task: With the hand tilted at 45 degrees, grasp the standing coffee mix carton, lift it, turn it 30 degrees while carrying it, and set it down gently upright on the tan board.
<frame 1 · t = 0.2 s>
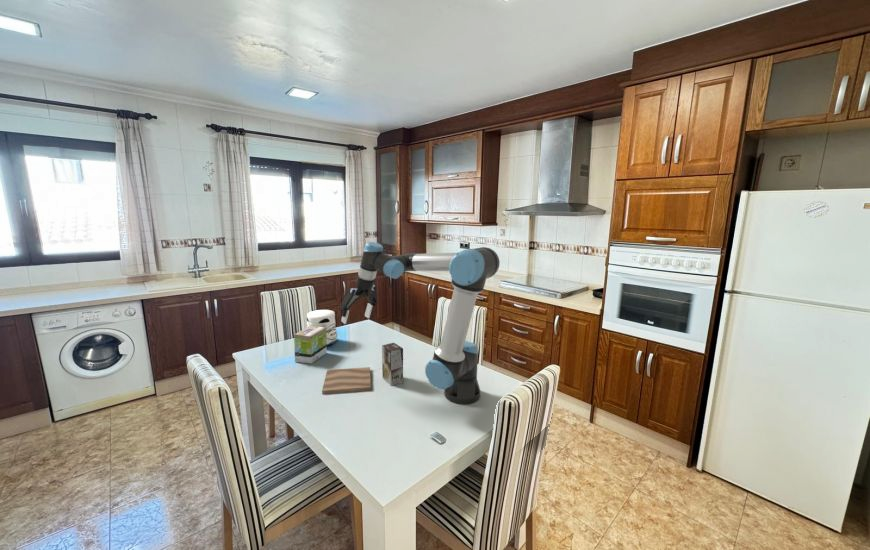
hand: (355, 319, 159), 27 cm above the table, tool tilted 20°, fingers open, 13 cm apart
coffee box: (392, 380, 161), on the table
tea box: (311, 357, 185), on the table
tan board: (347, 381, 159), on the table
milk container: (322, 343, 205), on the table
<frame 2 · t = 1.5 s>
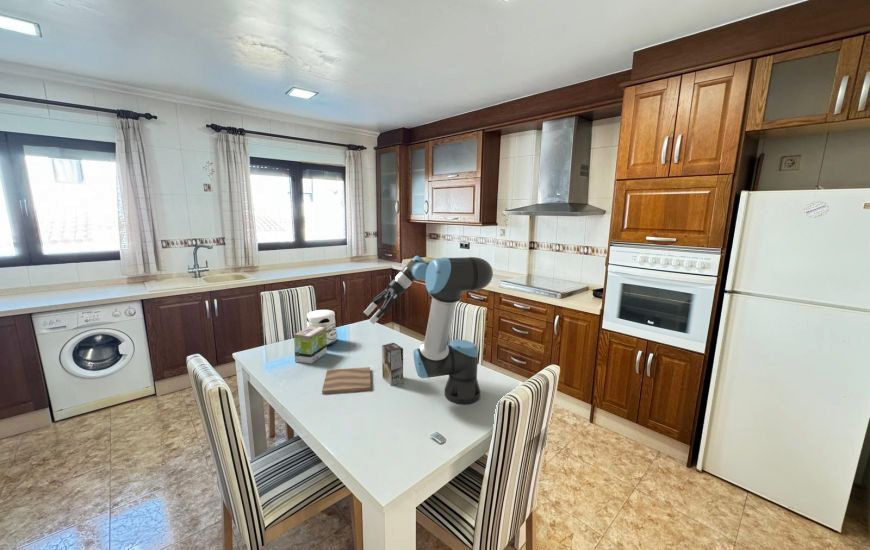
hand: (368, 318, 161), 28 cm above the table, tool tilted 45°, fingers open, 13 cm apart
nothing on the table moved.
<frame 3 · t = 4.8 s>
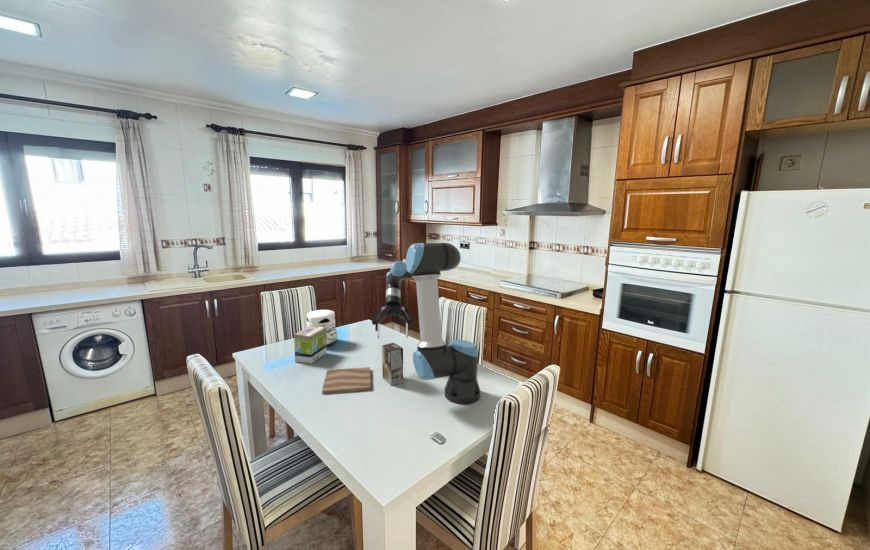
hand: (392, 336, 168), 17 cm above the table, tool tilted 45°, fingers open, 13 cm apart
nothing on the table moved.
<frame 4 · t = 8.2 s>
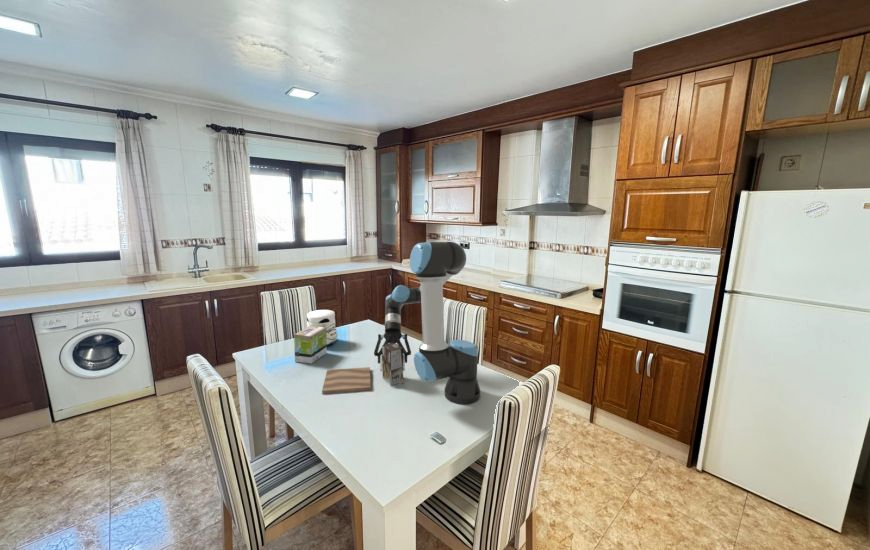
hand: (392, 369, 157), 6 cm above the table, tool tilted 45°, fingers closed on coffee box, 9 cm apart
coffee box: (392, 380, 161), on the table, touching gripper
everything else where it was.
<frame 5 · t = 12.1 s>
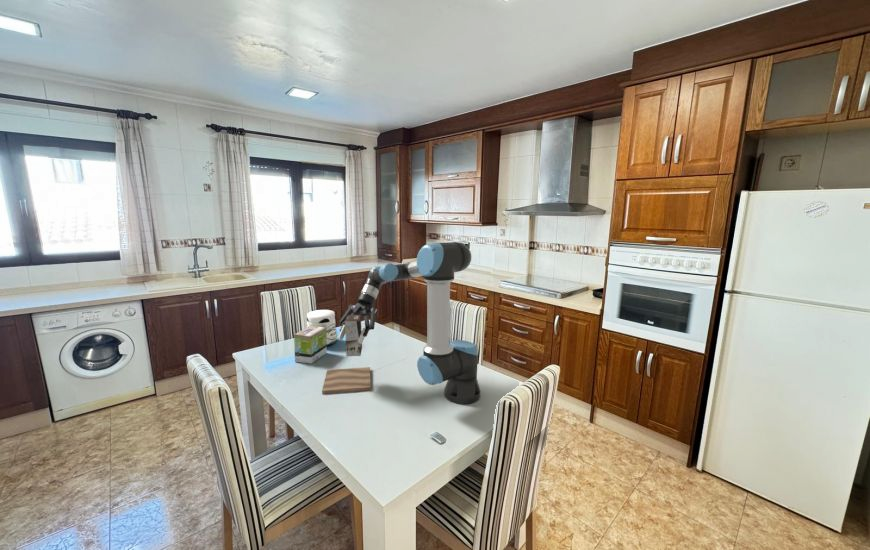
hand: (349, 341, 153), 20 cm above the table, tool tilted 45°, fingers closed on coffee box, 9 cm apart
coffee box: (354, 352, 157), point 14 cm above the table, touching gripper
everything else where it was.
when the fingers open (9 cm above the table, at t = 15.9 s): coffee box drops 1 cm, resting on tan board.
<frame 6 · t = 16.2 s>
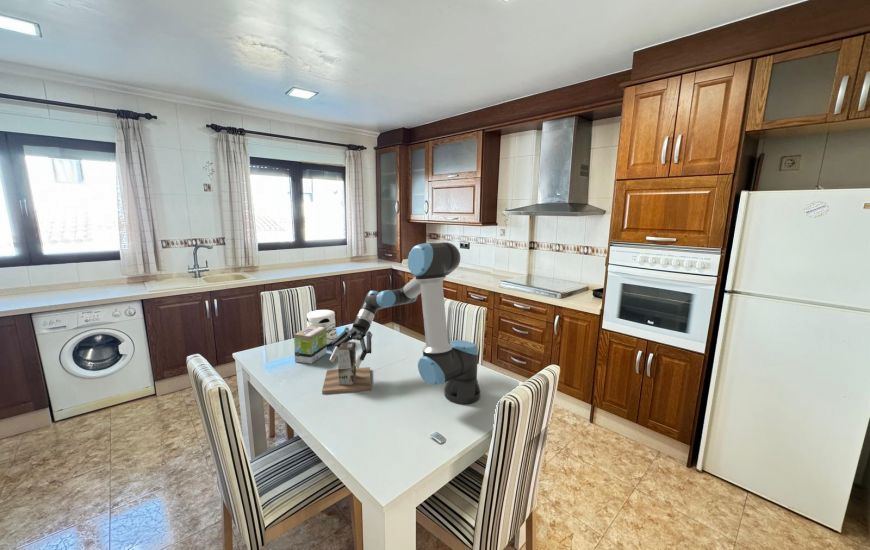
hand: (343, 363, 154), 10 cm above the table, tool tilted 45°, fingers open, 13 cm apart
coffee box: (347, 380, 157), point 1 cm above the table, touching tan board
everything else where it was.
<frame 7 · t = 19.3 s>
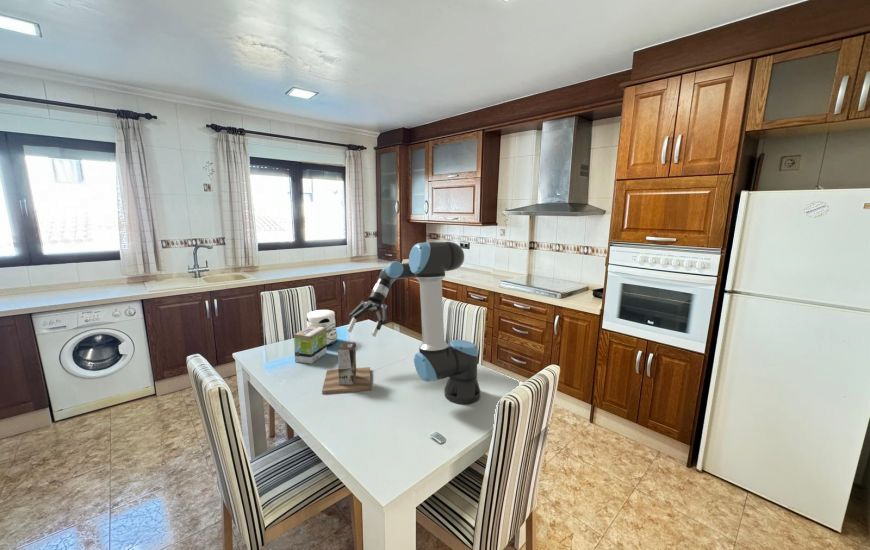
hand: (361, 333, 163), 20 cm above the table, tool tilted 45°, fingers open, 13 cm apart
nothing on the table moved.
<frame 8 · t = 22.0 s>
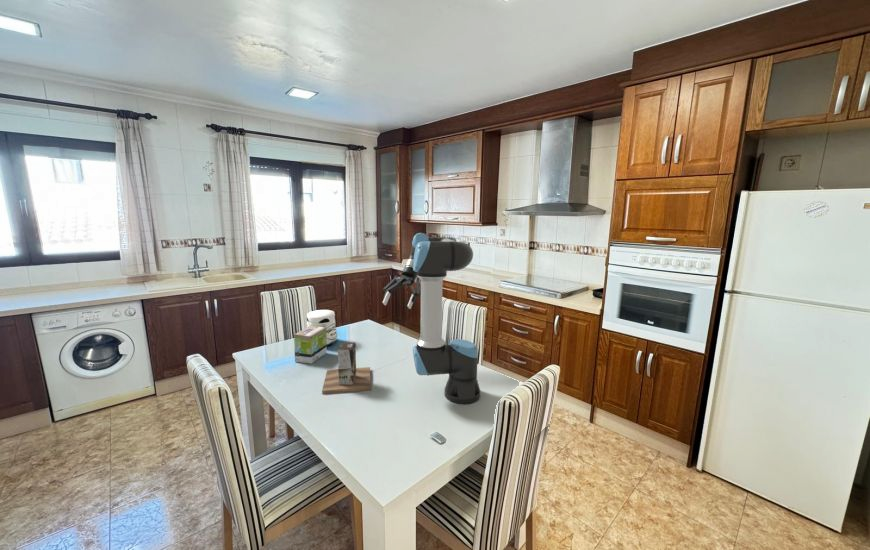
hand: (396, 305, 168), 32 cm above the table, tool tilted 45°, fingers open, 13 cm apart
nothing on the table moved.
at the end: coffee box inside the target area on the tan board (1.9 cm from its centre), point 1.3 cm above the tan board's base; coffee box tilted 0°; the gripper is holding nothing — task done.
